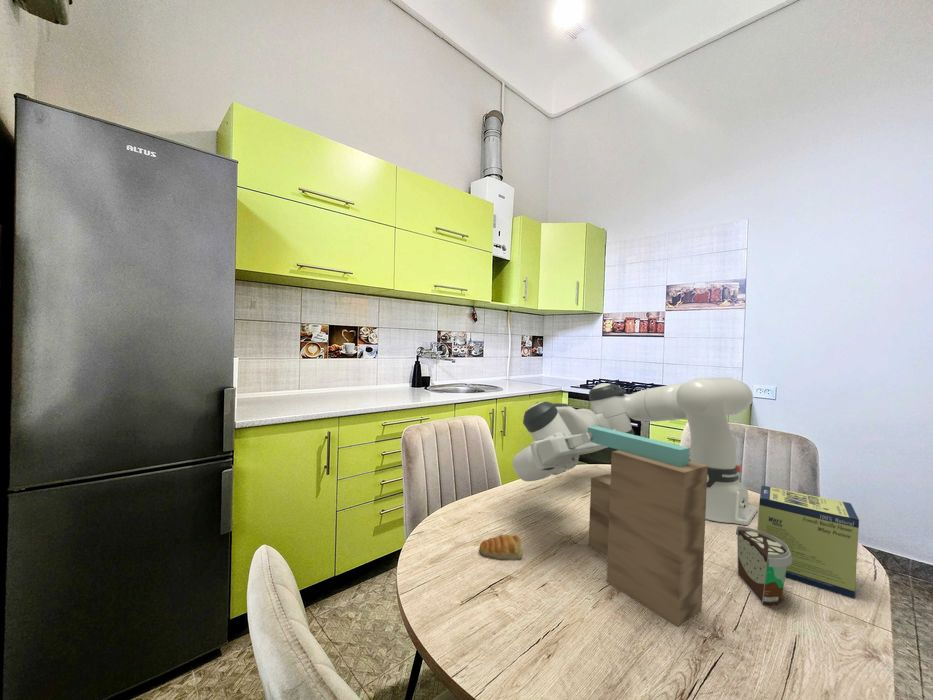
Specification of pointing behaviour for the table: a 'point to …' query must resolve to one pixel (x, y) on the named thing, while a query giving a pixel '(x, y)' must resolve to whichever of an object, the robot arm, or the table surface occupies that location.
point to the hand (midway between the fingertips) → (602, 434)
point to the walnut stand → (652, 532)
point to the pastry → (502, 547)
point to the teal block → (641, 446)
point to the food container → (762, 564)
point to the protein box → (813, 537)
